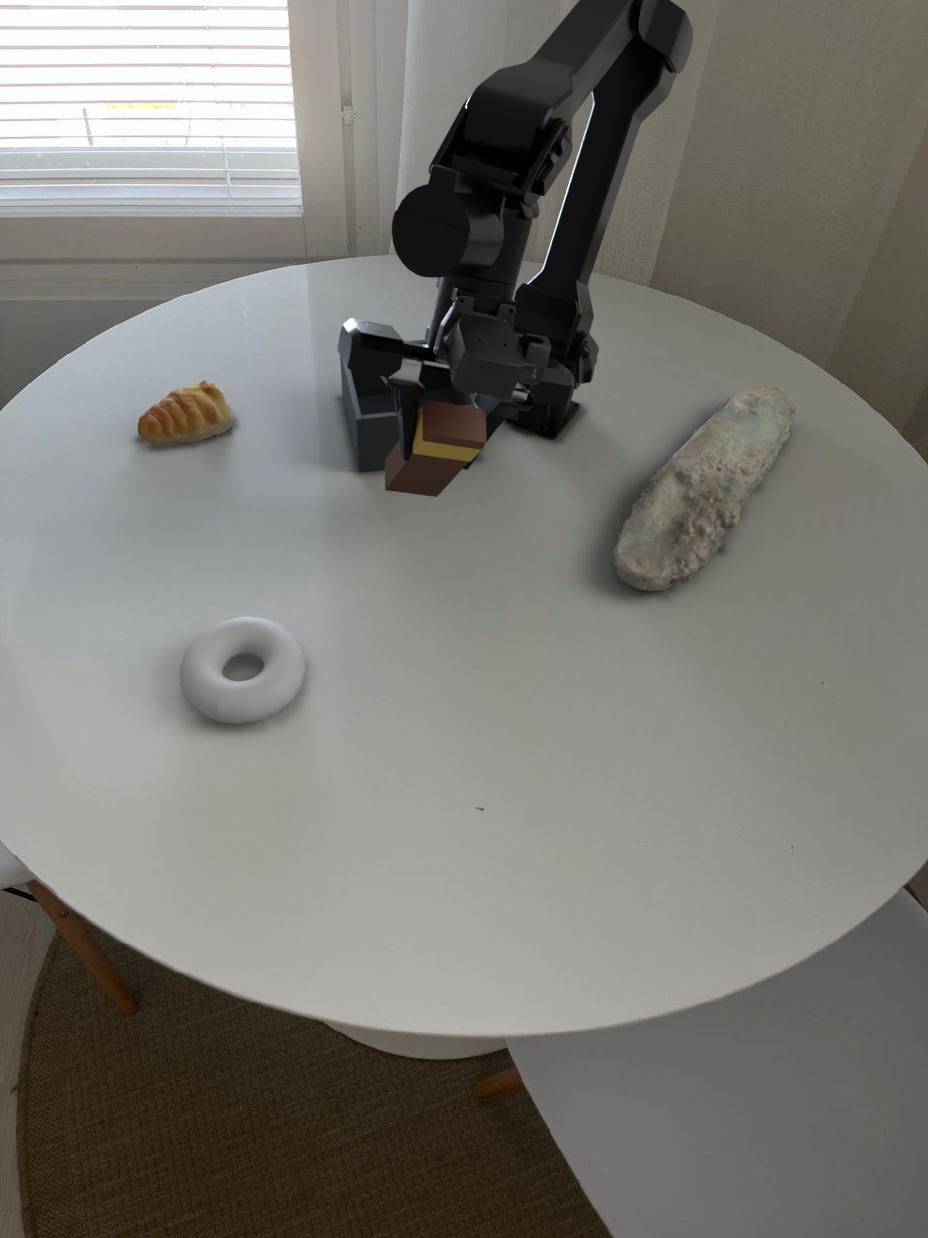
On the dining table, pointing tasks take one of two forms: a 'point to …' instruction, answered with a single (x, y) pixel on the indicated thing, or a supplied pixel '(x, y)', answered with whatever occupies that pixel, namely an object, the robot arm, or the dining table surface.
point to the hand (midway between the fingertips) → (434, 463)
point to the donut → (248, 696)
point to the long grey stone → (702, 490)
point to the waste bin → (386, 410)
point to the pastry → (186, 416)
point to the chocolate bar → (437, 449)
